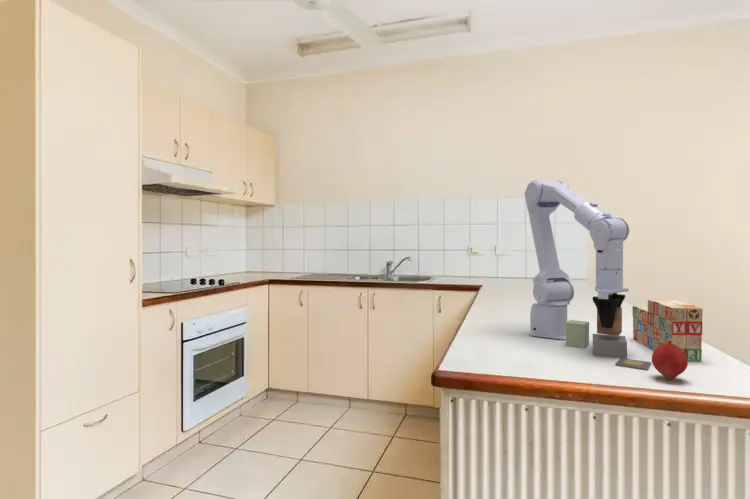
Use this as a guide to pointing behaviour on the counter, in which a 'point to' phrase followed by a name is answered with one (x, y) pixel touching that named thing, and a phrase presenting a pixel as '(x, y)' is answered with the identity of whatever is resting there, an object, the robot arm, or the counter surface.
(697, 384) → the counter surface
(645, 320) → the stack of blocks
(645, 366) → the card
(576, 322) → the sage block
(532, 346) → the counter surface
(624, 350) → the slate base block
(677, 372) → the onion
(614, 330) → the walnut block
